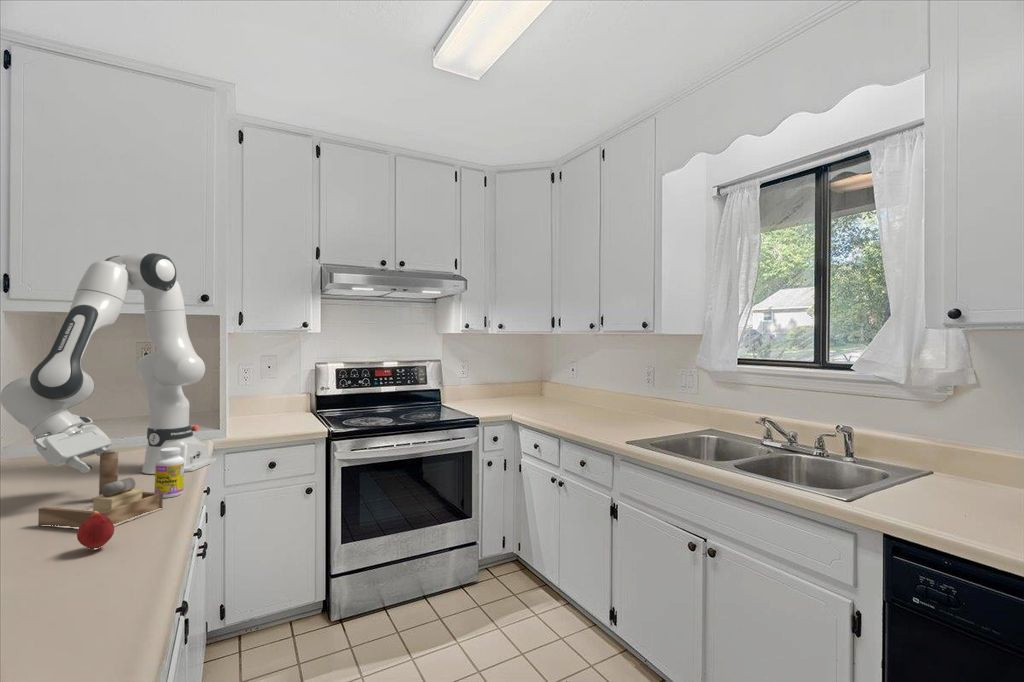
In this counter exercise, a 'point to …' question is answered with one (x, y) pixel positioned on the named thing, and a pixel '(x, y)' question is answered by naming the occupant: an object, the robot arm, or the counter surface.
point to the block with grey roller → (116, 495)
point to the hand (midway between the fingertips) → (99, 466)
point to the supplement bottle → (169, 473)
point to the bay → (115, 515)
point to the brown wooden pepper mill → (108, 468)
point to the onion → (95, 531)
